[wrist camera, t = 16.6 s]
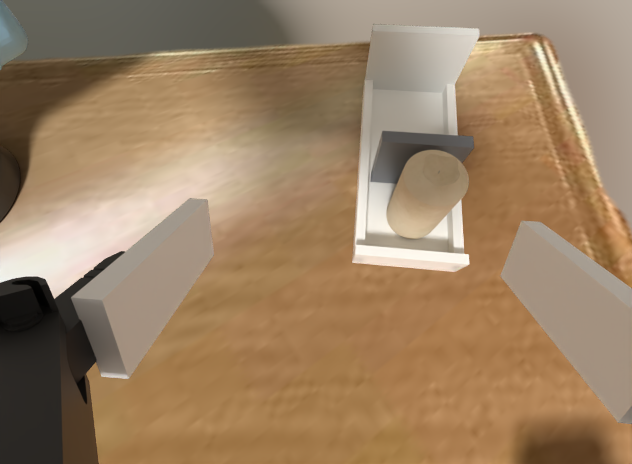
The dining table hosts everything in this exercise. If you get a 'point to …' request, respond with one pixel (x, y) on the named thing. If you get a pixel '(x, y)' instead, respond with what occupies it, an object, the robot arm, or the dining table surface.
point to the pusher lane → (416, 117)
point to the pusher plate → (413, 151)
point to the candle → (426, 193)
